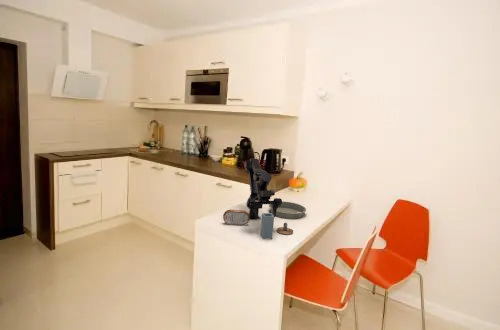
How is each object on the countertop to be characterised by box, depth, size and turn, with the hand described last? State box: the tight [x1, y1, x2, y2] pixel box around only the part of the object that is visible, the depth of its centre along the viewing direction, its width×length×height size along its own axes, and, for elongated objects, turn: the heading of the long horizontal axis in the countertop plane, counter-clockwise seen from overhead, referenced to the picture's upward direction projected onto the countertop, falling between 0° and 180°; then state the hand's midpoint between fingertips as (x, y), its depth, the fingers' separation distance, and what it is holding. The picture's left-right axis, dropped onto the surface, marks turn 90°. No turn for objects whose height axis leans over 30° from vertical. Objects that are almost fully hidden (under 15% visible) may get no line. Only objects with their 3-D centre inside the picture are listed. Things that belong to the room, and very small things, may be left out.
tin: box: [222, 209, 251, 226], centre depth 163 cm, size 15×3×8 cm, turn 92°
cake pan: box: [268, 200, 307, 220], centre depth 190 cm, size 25×25×4 cm
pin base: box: [276, 221, 294, 236], centre depth 158 cm, size 9×9×5 cm
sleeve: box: [259, 212, 275, 240], centre depth 149 cm, size 5×5×12 cm
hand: (266, 217), depth 151 cm, fingers open, 9 cm apart
